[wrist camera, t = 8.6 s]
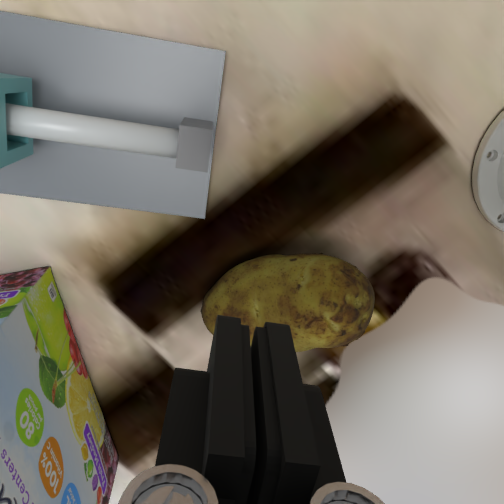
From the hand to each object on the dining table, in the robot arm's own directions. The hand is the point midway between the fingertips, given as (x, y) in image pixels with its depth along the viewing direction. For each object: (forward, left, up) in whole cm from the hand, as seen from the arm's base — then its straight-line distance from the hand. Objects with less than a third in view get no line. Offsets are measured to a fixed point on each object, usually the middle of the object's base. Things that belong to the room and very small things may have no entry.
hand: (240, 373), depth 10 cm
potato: (-6, +9, -26) cm, 28 cm away
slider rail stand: (+12, -2, -26) cm, 28 cm away
